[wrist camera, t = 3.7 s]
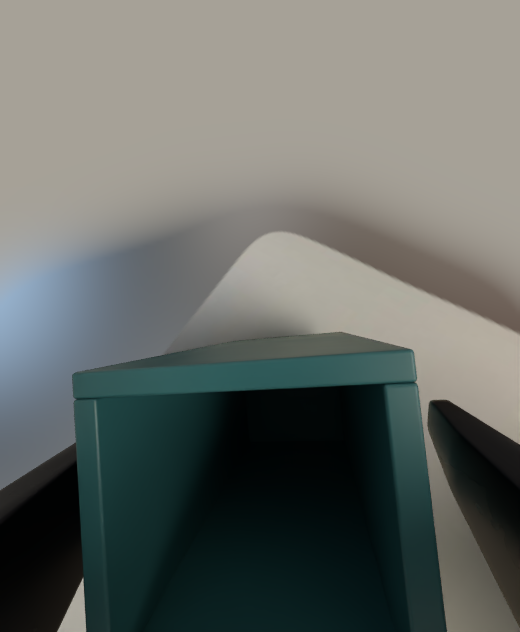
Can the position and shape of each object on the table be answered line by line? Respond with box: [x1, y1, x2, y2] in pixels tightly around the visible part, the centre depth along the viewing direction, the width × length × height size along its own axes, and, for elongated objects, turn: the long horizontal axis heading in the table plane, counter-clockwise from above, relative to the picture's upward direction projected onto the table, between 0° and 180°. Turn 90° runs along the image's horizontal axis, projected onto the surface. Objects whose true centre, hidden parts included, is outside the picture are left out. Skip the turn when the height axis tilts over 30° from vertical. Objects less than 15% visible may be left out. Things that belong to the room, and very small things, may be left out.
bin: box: [72, 332, 447, 632], centre depth 10 cm, size 6×6×11 cm
